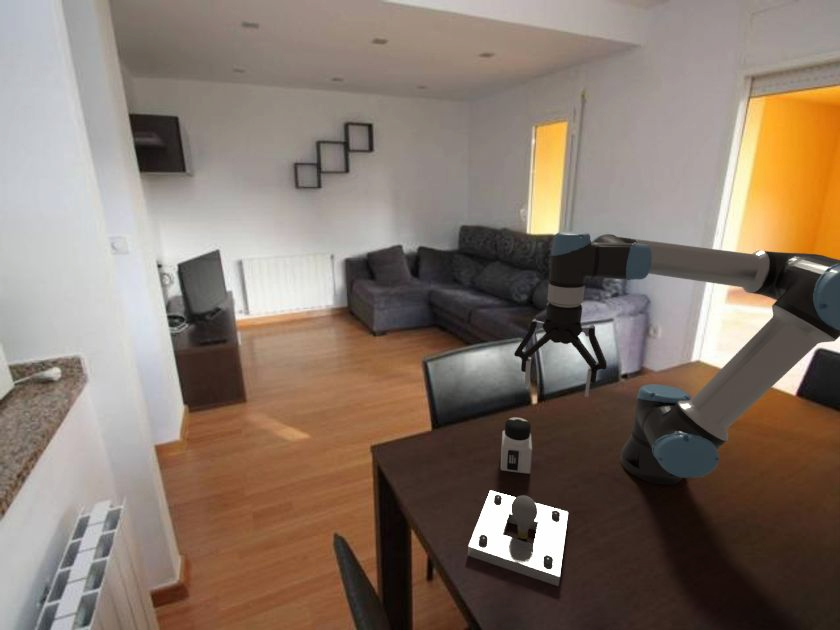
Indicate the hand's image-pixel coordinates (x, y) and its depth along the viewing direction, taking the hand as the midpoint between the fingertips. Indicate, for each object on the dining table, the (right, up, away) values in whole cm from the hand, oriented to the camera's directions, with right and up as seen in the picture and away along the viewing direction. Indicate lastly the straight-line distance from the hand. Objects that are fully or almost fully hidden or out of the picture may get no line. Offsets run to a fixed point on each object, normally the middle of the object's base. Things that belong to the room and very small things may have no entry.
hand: (556, 389), depth 101 cm
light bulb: (-10, -31, -9) cm, 34 cm away
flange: (-11, -31, -8) cm, 33 cm away
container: (-6, -23, +16) cm, 29 cm away
